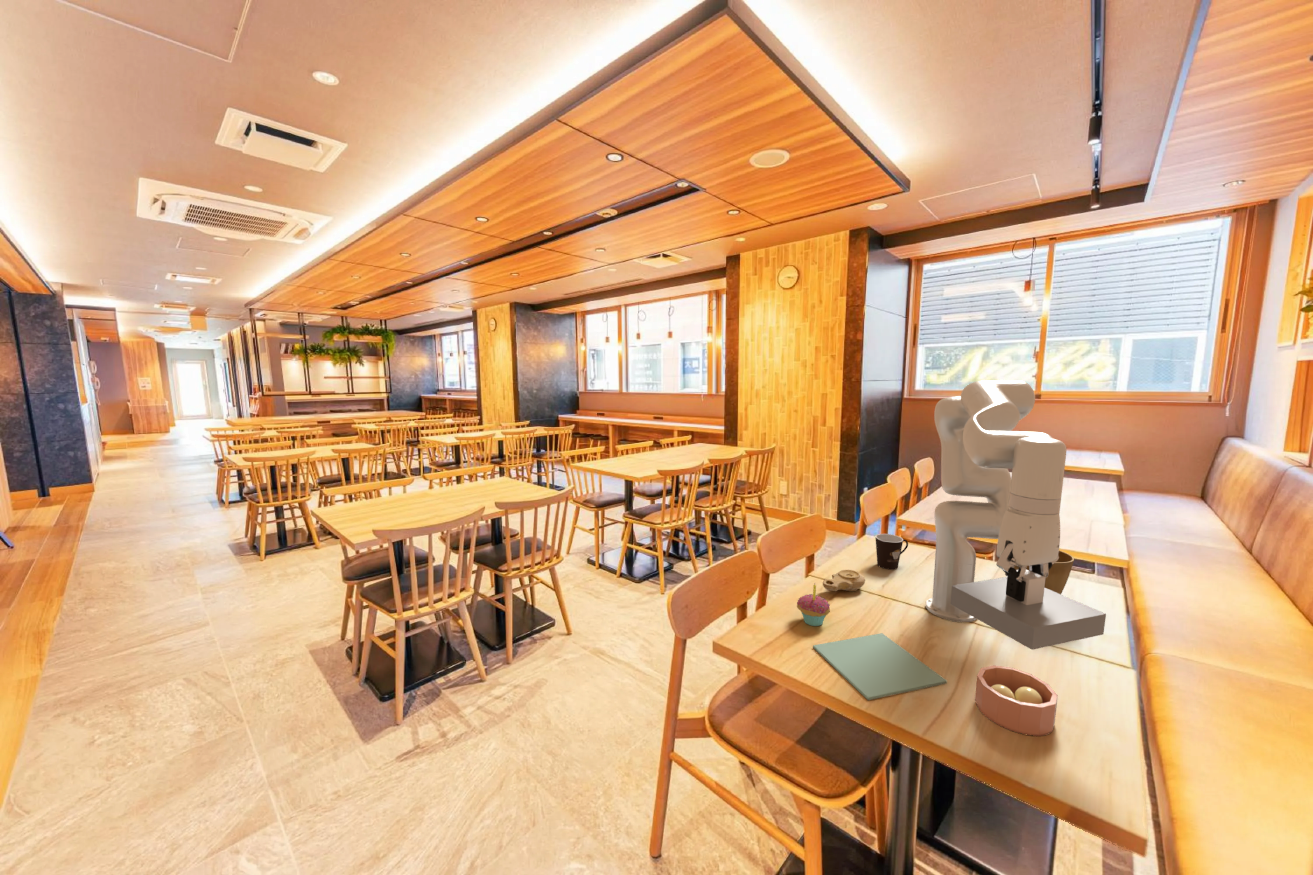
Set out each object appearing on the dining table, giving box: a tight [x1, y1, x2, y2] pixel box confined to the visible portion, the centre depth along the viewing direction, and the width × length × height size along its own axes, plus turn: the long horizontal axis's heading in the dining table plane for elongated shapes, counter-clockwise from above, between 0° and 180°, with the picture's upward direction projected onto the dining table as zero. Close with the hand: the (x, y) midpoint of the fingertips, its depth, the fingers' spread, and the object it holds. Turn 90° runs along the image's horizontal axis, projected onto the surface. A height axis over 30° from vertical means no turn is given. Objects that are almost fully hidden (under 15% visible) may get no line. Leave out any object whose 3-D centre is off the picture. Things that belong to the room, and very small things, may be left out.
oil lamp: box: [822, 569, 866, 592], centre depth 150 cm, size 11×14×5 cm
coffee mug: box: [874, 533, 909, 571], centre depth 167 cm, size 12×9×10 cm
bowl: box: [974, 664, 1059, 737], centre depth 96 cm, size 12×12×6 cm
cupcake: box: [796, 583, 831, 627], centre depth 131 cm, size 9×8×12 cm
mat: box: [812, 632, 948, 701], centre depth 113 cm, size 20×20×1 cm
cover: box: [950, 569, 1107, 651], centre depth 93 cm, size 17×17×9 cm
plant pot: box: [1014, 549, 1075, 595], centre depth 138 cm, size 15×15×16 cm
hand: (1024, 595), depth 93 cm, fingers closed on cover, 4 cm apart
